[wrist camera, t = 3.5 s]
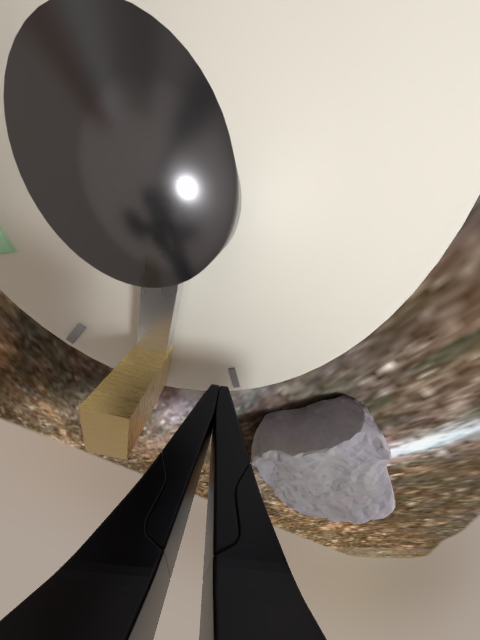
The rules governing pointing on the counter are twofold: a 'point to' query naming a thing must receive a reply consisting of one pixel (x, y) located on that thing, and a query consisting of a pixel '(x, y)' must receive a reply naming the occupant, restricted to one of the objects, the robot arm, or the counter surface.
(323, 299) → the dial plate
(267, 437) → the stone block
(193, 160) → the tuner lever
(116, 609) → the robot arm
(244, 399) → the counter surface
